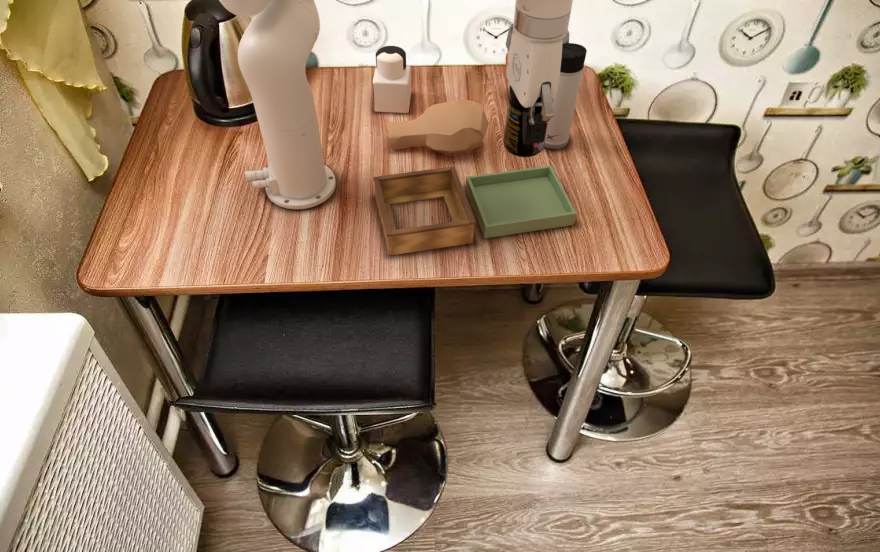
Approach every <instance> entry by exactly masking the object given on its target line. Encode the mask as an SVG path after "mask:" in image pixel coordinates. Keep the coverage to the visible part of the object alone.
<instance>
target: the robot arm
mask: <svg viewBox="0 0 880 552" xmlns="http://www.w3.org/2000/svg"><path fill="white" fill-rule="evenodd" d="M218 1H219V2H220V4H221V5H222V6H223V8H224V9H225V10H227V11H228V12H229V13H231V14H233V15H234V16H237V17H241V18H251V17H252V19H251V21H250V23H249V24H248V26H247V27H246V29H245V30H244V32H243V34H242V36H241V39H240V40H239V44H238V49H237V64H238V68H239V70H240V73H241V75H242V78H243V79H244V82H245V84H246V86H247V88H248V91H249V94H250V96H251V100H252V103H253V107H254V110H255V115H256V120H257V121H258V127H259V130H260V134H261V138H262V142H263V146H264V151H265V154H266V159H267V166H265V167H262V169H257V170H255V169H254V170H247V171H245V172H244V176H245V181H246V183H252V188H253V189H254V190H256V189H257V190H258V189H262V188H264V189H265V193H266V196H267V197H268V199H269V200H270V201H271V202H272V203H273V204H274V205H276V206H278V207H280V208H283V209H286V210H287V209H288V210H305V209H311V208H313V207H316V206H319V205H321V204H322V203H324V202H326V201H327V200H328V199H330V198H331V196H332V195H333V194H334V192H335V190H336V186H337V182H336V181H337V180H336V176H335V173H334V171H332V169H331V168H330V167H329V166H327V165H326V164H325V157H324V152H323V147H322V139H321V133H320V127H319V121H318V120H319V119H318V115H317V109H316V103H315V97H314V94H313V90H312V87H311V85H310V83H309V81H308V78H307V74H306V73H307V72H306V68H307V62H308V60H309V57H310V56H311V52H312V50H313V49H314V47H315V44H316V43H317V41H318V38H319V34H320V30H321V29H320V28H321V21H320V15H319V12H318V9H317V5H316V2H315V0H218ZM572 7H573V0H515V6H514V15H513V23H514V24H513V23H512V24H513V32H512V37H511V43H510V49H509V55H508V62H507V70H506V69H505V76H506V75H507V79H508V81H509V83H510V85H511V87H512V89H513V91H514V93H515V95H516V97H517V98H518V100H519V102H520V103H521V105H522V106H523V107H525V108H528V107H529V121H526V127H525V134H524V143H525V144H533V143H541V142H543V141H544V139H545V133H546V127H547V123H548V122H549V120H550V119H551V118H552V117H553V116H554V110H553V103H554V101H555V98H556V94H557V89H558V83H559V76H560V68H561V58H562V43H563V39H562V38H564V37H565V36H566V34H567V31H569V30H568V29H569V25H570V18H571V14H572V13H571V12H572ZM507 79H506V80H507ZM508 81H507V82H508ZM538 97H540V98H541V101H539V102H536V101H537V99H538ZM539 106H542V111H541V113H538V114H536V115H535V107H539Z"/></svg>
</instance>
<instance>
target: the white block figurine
mask: <svg viewBox="0 0 880 552" xmlns="http://www.w3.org/2000/svg"><path fill="white" fill-rule="evenodd" d="M411 72H412V71H411V65H410V64H407V52H406V51H405V50H404V49H403V48H402V47H400V46H396V45H386V46H381V47H380V48H378V49H377V51H375V69H374V73H373V78H372V93H373V108H374V112H375V113H395V114H409V112H410V104H411V97H412V82H411V81H412V79H411V78H412V77H411V75H412V73H411Z"/></svg>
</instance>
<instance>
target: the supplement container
mask: <svg viewBox="0 0 880 552" xmlns="http://www.w3.org/2000/svg"><path fill="white" fill-rule="evenodd" d="M539 101H541V98H540V97H538V99H537V101H536V102H539ZM541 111H542V106H539V107H535V115H536V114H538V113H541ZM526 121H529V107H528V108H525V107H523V106H522V105H521V103H520V102H519V100H518V98H517V97H516V95H515V93H514V91H513V89H512V87H511V85H510V87H509V92H508V95H507V108H506V117H505V126H504V132H503V133H504V134H503V146H504V148H505V149H506V151H507V152H508V153H510V154H511V155H514V156H516V157H519V158H533V157H535V156H537V155H540V153H542V151H543V150H544V148H545V147H544V145H545V139H546V134H547V128H548V123H547V127H546V133H545V139H544V141H543V142H541V143H533V144H525V143H524V134H525V127H526Z"/></svg>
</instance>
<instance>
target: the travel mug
mask: <svg viewBox="0 0 880 552" xmlns="http://www.w3.org/2000/svg"><path fill="white" fill-rule="evenodd" d="M587 52H588V50H587V48H586V46H583V45H582V44H579V43H575V42H569V43H564V44H562V58H561V68H560V76H559V83H558V89H557V94H556V98H555V101H554V103H553V110H554V116H553V117H552V118H551V119H550V120H549V122H548V128H547V134H546V139H545V145H544V148H546V149H549V150H560V149H563V148H564V147H566V146H567V145H568V143H569V139H570V134H571V129H572V126H573V120H574V117H575V111H576V107H577V106H576V105H577V101H578V96H579V93H580V92H579V91H580V87H581V82H582V77H583V73H584V69H585V61H586V57H587Z"/></svg>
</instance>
